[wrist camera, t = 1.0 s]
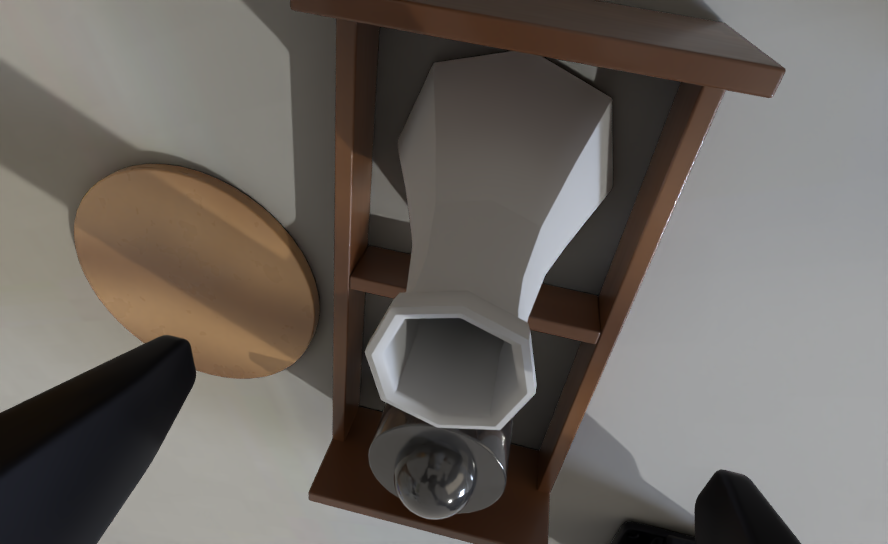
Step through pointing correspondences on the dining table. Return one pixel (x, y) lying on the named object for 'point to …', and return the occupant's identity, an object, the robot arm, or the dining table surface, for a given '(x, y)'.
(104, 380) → the robot arm
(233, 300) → the cork trivet
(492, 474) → the pepper pot
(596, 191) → the flask
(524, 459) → the rack
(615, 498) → the dining table surface
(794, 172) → the dining table surface
